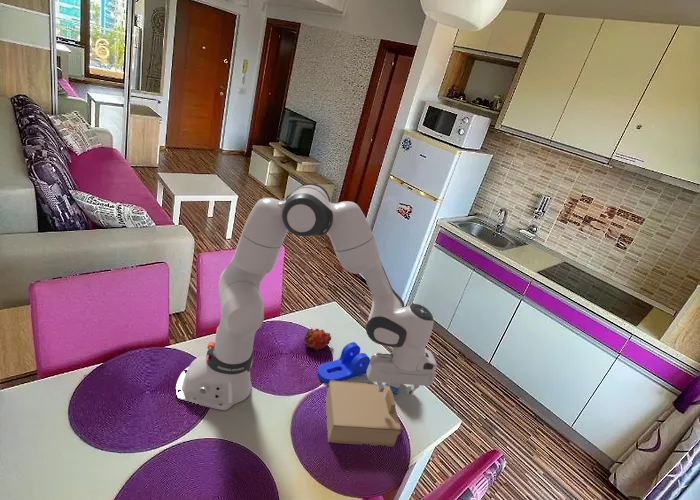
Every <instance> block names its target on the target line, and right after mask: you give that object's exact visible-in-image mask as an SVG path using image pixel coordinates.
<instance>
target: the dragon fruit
mask: <svg viewBox="0 0 700 500" xmlns="http://www.w3.org/2000/svg"><path fill="white" fill-rule="evenodd" d="M331 340H332V336H331V333H330V332H325V330H324V329H320V328H315V329H313V328H310V330H307V332H306V333H305V335H304V339H303V341H304V346H305V347H306V348H307V347H308V348H310V347H311V348H310V349H314V350H315V351H316V352H319V350H321V349H322V348H323V349H324V348H326V347H327V346H328V345H329V344H330V342H331ZM323 349H322V350H323Z"/></svg>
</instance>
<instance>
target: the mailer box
mask: <svg viewBox="0 0 700 500" xmlns="http://www.w3.org/2000/svg"><path fill="white" fill-rule="evenodd" d="M325 401H326V404H325V413H326V414H325V416H327V418H326V429H327V431H328V432H327V442H328V443H330V442H331V443H332V444H333V443H335V444H348V445H349V444H350V445H362V444H367V445H366V446H378V445H382V447H393V446H394V447H395V444H396V441H397V439H398V436H399V435H398V434H383V433H369V432H355V431H340V430H333V414H332V403H331V392H330V384H328V388H327V393H326V397H325ZM325 401H324V402H325ZM368 444H370V445H368ZM384 445H386V446H384Z"/></svg>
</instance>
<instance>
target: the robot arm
mask: <svg viewBox="0 0 700 500" xmlns="http://www.w3.org/2000/svg"><path fill="white" fill-rule="evenodd" d="M289 232H290V233H291V234H293V235H295V236H297V237H310V236H325V235H326V234H327V236H328V238H329V240H330V243H331V245H332V247H333V250H334V253H335V256H336V258H337V259H338V261H339V264H340V265H341V267H342V268H343V270H344V271H346V272H349V273H351V274H355V275H356V274H357V275H359V274H361V275H362V276H363V277H364V279H365V281H366V285H367V287H368V289H369V292H370V293H371V296H372V302H371V309H370V312H369V315H368V318H367V322H366V326H365V332H366V334H367V337H368V338H369V339H370V340H371V341H372V342H373V343H375V344H377V345H381V346H386V347H389V348H390V347H392V351H391V353H383V352H377V353H376V354H373V355H371V357H370V363H369V366H368V368H367V371H366V377H367V379H368V381H369V382H371V383H372V382H375V383H377V385H378V387H377V390H378V392H383V390H384V387H383V385H384V384H383V383H397V384H400V385H407V388H406V392H407V395H414V392H415V391H416V390H417V389H418V388H420V387H421V386H425V387H429V386H431V385H433V384H434V381H435V378H436V374H437V373H436V372H437V371H436V370H437V368H438V365H437V361H436V359H435V356H434V354H433V353H432V352H431V350H429V349H427V348H426V346H427V344H428V343H429V341H430V338H431V335H432V332H433V328H434V321H435V320H434V316H433V313H431V311H430V310H429V309H428V308H427V307H425V306H424V305H421V304H418V303H411V304H409V305H407V306H406V305H405V303H404V301H403V299H402V298H401V296H400V295H399V294H398V293H397V292H396V291H395V289H393V287H392V285H391V282H390V281H389V277H388V276H387V273H386V270H385V268H384V266H383V262H381V257H380V254H379V250H378V247H377V243H376V239H375V236H374V234H373V231H372V228H371V226H370V224H369V222H368V220H367V218H366V216H365V214H364V213H363V211H362V208H360V206H359V205H358V204H357V203H355V202H354V201H349V200H347V201H346V200H344V201H340V202H337V203H335V202H334V203H333V202H331V197H330V195H329V193H328V191H327V190H326V189H325V188H324V187H322V186H321V185H319V184H317V183H305V184H302V185H300V186H299V187H297V188H295V190H294V191H292V192H291V193H290V194H288V195H287V196H286V197H285V200H280V199H277V198H273V197H263V198H260V199H259V200H258V201H257V202H255V204H254V206H253V207H252V209H251V211H250V213H249V214H248V216H247V219H246V221H245V223H244V226H243V228H242V231H241V235H240V238H239V239H238V243H237V246H236V248H235V251H234V253H233V256H232V258H231V260H230V262H229V264H228V265H227V266H226V267H225V268H224V269H223V271H222V272H221V274H220V276H219V279H218V280H219V281H218V285H217V286H218V287H217V288H218V294H219V295H218V296H219V301H220V320H219V325H218V326H217V328H216V333H215V338H214V339H215V340H214V341H212V340H211V341H209V342H208V344H207V351H206V354H205V355H202V356H200V357H196V358H195V359H194V360H192V362H191V363H190V364H189V365H188V367H186V368H185V369H184V370H187V372H186V373H185V371H184V370H183V371H181V373H180V375H179V377H178V379H177V380H176V381H177V382H176V385H175V389H176V395H177V398H178V399H181V400H185V401H189V402H192V403H191V404H193V403H195V404H194V405H197V404H199V405H198V406H201V407H202V406H203V407H206V408H211V409H216V410H220V411H227V410H228V409H230V408H231V407H232V406H234V405H236V404H239V403H241V402H243V401H244V400H246V399H248V397H249V396H250V394H251V392H252V389H253V385H252V381H251V380H252V379H251V369H252V366H253V362H254V361H253V360H254V342H255V336H256V333H257V331H258V330H259V329H260V328H261V327H262V325H263V323H264V320H265V304H264V301H263V298H262V296H261V283H262V281H263V279H264V277H265V276H266V275H267V274H269V273H270V272H272V271H273V269H274V267H275V264H276V262H277V259H278V256H279V254H280V252H281V248H282V247H283V244H284V240H285V238H286V236H287V234H288V233H289ZM178 390H181V391H179V392H178ZM176 395H175V396H176ZM177 398H176V399H177ZM178 399H177V400H178ZM189 402H188V403H189Z"/></svg>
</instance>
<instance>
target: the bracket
mask: <svg viewBox="0 0 700 500" xmlns="http://www.w3.org/2000/svg"><path fill="white" fill-rule="evenodd" d="M370 359H371V357H369V356H368V354H366V353H365V352H361V346H359V345H358V343H356V342H355V341H352V342H348V343H347V344H346V345H345V346H344V347H343V349H342V350H341V353H340V357H339V358H338V359H336V360H335V359H334V360H332V361H328V362H324V363H321V364H319V366H318V368H317V371H316V376H317V378H318V380H320V381H321V382H322V383H324V384H328V385H329V382H330V380H335V381H347V380H350V379H353V378H357V377H360V376H363V375H367V373H366V371H367V368H368V366H369V363H370Z"/></svg>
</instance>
